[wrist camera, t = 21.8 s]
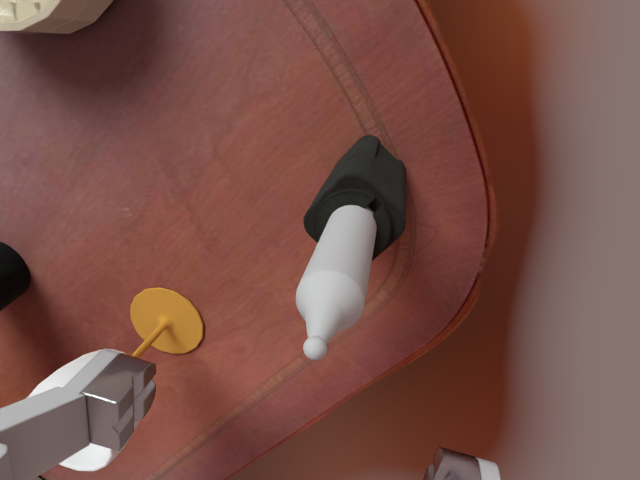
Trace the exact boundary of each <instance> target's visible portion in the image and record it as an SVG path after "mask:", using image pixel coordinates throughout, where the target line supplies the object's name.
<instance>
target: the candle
mask: <svg viewBox="0 0 640 480" xmlns="http://www.w3.org/2000/svg"><path fill="white" fill-rule="evenodd" d="M379 141H380V140H379V139H378V138H376V137H374V136H370V135H368V136H364V137H362V138H360V139H359V140H358V141H357V142H356V143H355V144H354V146H353V147H352V148H351V149H350V150H349V151H348V152H347V153H346V154H345V155H344V156H343V157H342V158H341V159H340V160H339V162H338V163H337V164H336V166H335V167H334V169H333V170H332V172H331V174H330V175H329V177H328V178H327V180H326V182H325V183H324V185H323V186H322V188H321V190H320V191H319V193H318V194H317V196H316V198H315V199H314V201H313V202H312V204H311V206H310V207H309V209H308V210H307V212H306V214H305V216H304V227H305V230H306V232H307V233H308V234H309V235H310V236H311V237H312V238H313V239H314V240H315V241H316V242H317V243H318V244H317V246H316V248H315V251H314V253H313V255H312V257H311V259H310V261H309V264H308V266H307V268H306V270H305V272H304V274H303V277H302V279H301V281H300V283H299V285H298V288H297V291H296V304H297V308H298V310H299V312H300V314H301V316H302V317H303V319H304V320H305V321H306V327H307V335H308V339H307V340H306V341H305V343H304V345H303V350H304V353H305V355H306V356H307V357H308V358H310V359H312V360H319V359H322V358H323V357H324V356H325V355H326V353H327V343H328V342H329V341H330V340H331V339H332V338H333V337H334V336H335V334H336V333H337V332H338V331H342V330H345V329H348V328H349V327H351V326H353V325H354V324H355V323H356V322H357V321H358V320H359V318H360V317H361V315H362V313H363V311H364V305H365V299H366V293H367V287H368V281H369V274H370V268H371V262H372V260H374V259H375V258H376V257H377V256H378V255H379V254H380V253H382V252H383V251H384V250H385V249H386V248H387V247H389V246H390V245H391V244H392V243H393V242H394V241H395V240H397V239H398V238H399V237H400V236H401V235H402V233H403V231H404V229H405V224H406V220H405V166H404V164H403V163H402V161H398V160H396V159H395V158H394V157H393V156H392V155H391V154H390V153H389V152H388V151H387V150H386V149H385V148H384V147H383V146H382V145H381V144H380V143H379Z"/></svg>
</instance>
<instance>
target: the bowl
mask: <svg viewBox="0 0 640 480" xmlns="http://www.w3.org/2000/svg"><path fill="white" fill-rule="evenodd" d="M113 1H114V0H0V32H12V33H32V34H70V33H72V32H75V31H77V30H79V29H81V28H83V27H85V26H88V25H90V24H92V23H94V22H95V21H96V20H97V19H98V18H99V17H100V15H101V14H102V13H103V12H104V11H105V10H106V9H107V7H108V6H109V5H110V4H111V3H112V2H113Z"/></svg>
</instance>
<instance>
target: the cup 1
mask: <svg viewBox="0 0 640 480" xmlns="http://www.w3.org/2000/svg"><path fill="white" fill-rule="evenodd" d="M29 285H30V274H29V270H28V268H27V265H26V264H25V262H24V261H23V259H22V258H21V257H20V255H19V254H18V253H17V252H16V251H14V250H13V249H12V248H11V247H9V246H8V245H6V244H4V243H2V242H0V311H1V310H2V309H4V308H5V307H6V306H7V305H9V304H10V303H11V302H13V301H14V300H15V299H16V298H18V297H19V296H20V295H22V294H23V293H24V292H25V291H26V290H27V289H28V287H29Z"/></svg>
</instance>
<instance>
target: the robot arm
mask: <svg viewBox="0 0 640 480" xmlns="http://www.w3.org/2000/svg"><path fill="white" fill-rule="evenodd" d="M155 374H156V364H154V363H151V362H148V361H145V360H142V359H139V358H136V357H133V356H130V355H127V354H123V353H120V352H117V351H113V350H110V349H107V348H105V349H103V350H101V351H99V352H98V353H97V354H96V355H95V356H94V357H93V358H92V359H91V360H90V361H89V362H88V363H87V364H86V365H85V366H84V367H83V368H82V369H81V370H80V371H79V372H78V373H77V374H76V375H75V376H74V377H73V378H72V379H71V380H70V381H69V382H68V383H67V384H66V385H65V386H64V387H63V388H61V387H55V388H52V389H50V390H47V391H44V392H42V393H39V394H37V395H34V396H32V397H29V398H26V399H24V400H21V401H19V402H16V403H13V404H11V405H8V406H6V407H3V408H1V409H0V480H33V479H34V478H36V477H38V476H39V475H41V474H42V473H44V472H46V471H47V470H49V469H51V468H52V467H54V466H56V465H57V464H59V463H61V462H62V461H64V460H66V459H67V458H69V457H70V456H72V455H74V454H75V453H77V452H79V451H80V450H82V449H84V448H85V447H87V446H89V445H90V443H92V444H95V445H99V446H103V447H106V448H110V449H113V450H117V451H120V450H121V448H122V447H123V445H124V444H125V443H126V441H127V440H128V439H129V437H130V436H131V434H132V433H133V432H134V422H136V421H138V420H140V419H142V418H144V416H145V415H146V413H147V412H148V410H149V409H150V407H151V404H152V402H153V400H154V397H155V392H156V384H155V383H154V381H153V380H152V378H153V377H154V375H155ZM423 480H501V478H500V474H499V470H498V466H497V465H496V463H494V462H490V461H487V460H483V459H480V458H475V457H473V456H470V455H467V454H463V453H460V452H456V451H453V450H449V449H445V448H442V447H438V448H437V449H436V450H435V452H434V455H433V464H432V465H430V466H428V468H427V470H426V473H425V475H424V479H423Z"/></svg>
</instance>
